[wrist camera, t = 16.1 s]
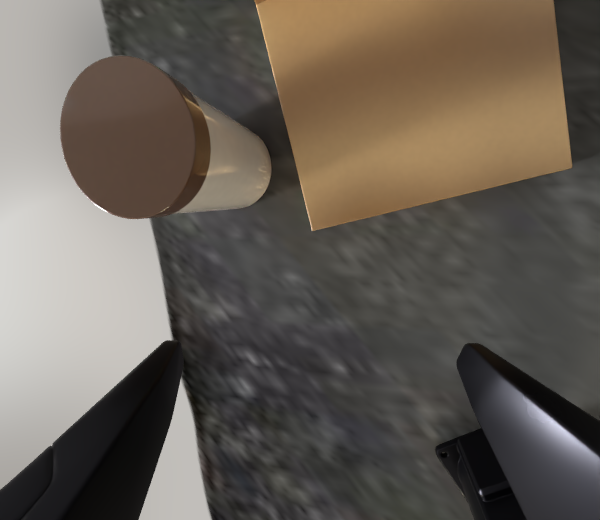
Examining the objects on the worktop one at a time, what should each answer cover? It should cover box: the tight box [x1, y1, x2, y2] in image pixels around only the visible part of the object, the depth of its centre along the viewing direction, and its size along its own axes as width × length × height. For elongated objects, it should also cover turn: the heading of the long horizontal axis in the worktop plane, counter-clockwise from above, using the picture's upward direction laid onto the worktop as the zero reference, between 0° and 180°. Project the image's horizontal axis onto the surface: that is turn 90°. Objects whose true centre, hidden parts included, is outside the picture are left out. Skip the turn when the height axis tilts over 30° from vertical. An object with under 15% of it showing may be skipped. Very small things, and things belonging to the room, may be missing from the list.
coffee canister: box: [60, 56, 271, 219], centre depth 16 cm, size 6×6×10 cm
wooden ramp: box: [254, 0, 572, 231], centre depth 14 cm, size 14×14×7 cm
